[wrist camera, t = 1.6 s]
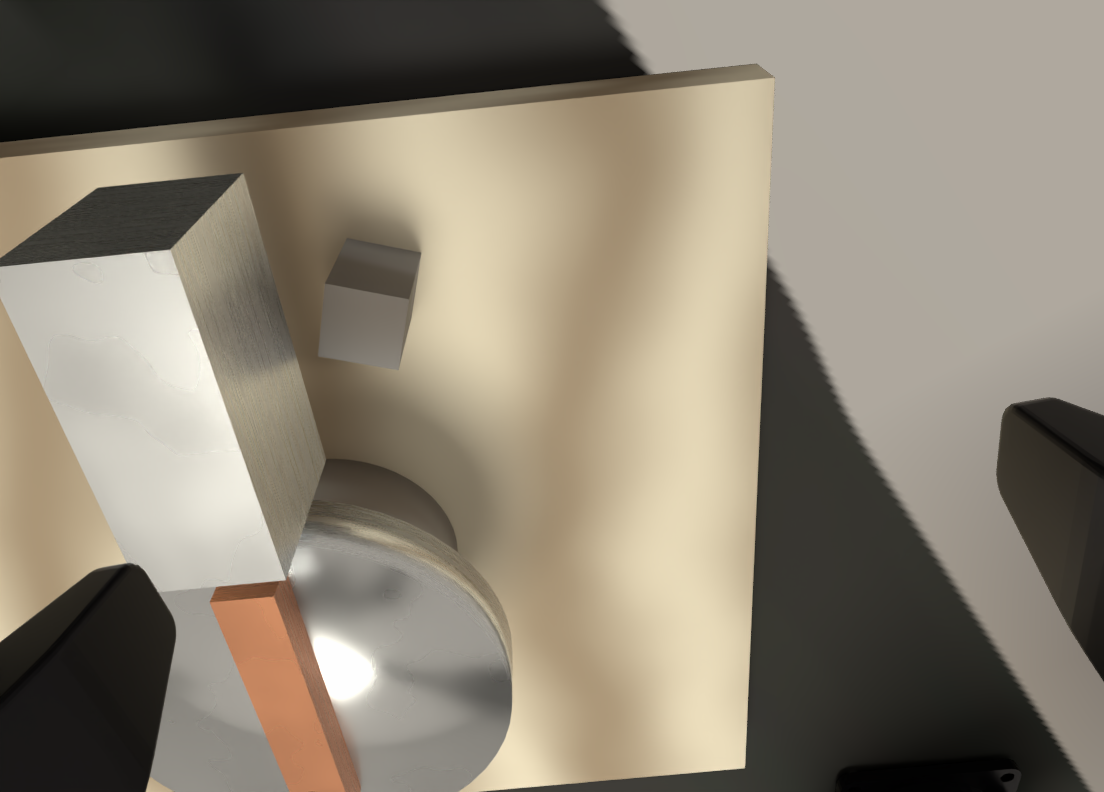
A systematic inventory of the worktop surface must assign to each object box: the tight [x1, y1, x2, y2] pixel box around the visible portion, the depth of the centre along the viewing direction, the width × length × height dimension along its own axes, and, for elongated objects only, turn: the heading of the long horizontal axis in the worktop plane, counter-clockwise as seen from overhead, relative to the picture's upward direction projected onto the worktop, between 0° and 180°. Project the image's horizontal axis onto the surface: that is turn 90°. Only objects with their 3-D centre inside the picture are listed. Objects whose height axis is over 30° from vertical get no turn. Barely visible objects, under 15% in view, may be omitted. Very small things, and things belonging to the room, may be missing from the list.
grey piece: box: [0, 173, 513, 792], centre depth 17 cm, size 16×9×4 cm, turn 5°
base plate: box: [0, 64, 775, 792], centre depth 22 cm, size 22×22×5 cm
